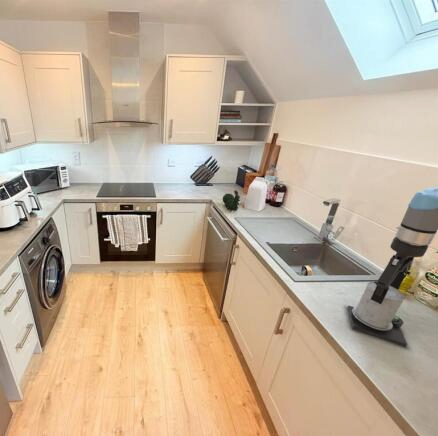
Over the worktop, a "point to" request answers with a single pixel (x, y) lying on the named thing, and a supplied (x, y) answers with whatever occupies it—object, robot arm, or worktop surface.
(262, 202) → the milk
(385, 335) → the scale
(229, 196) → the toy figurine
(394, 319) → the tare button
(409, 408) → the worktop surface
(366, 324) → the pan
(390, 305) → the silver metal canister
